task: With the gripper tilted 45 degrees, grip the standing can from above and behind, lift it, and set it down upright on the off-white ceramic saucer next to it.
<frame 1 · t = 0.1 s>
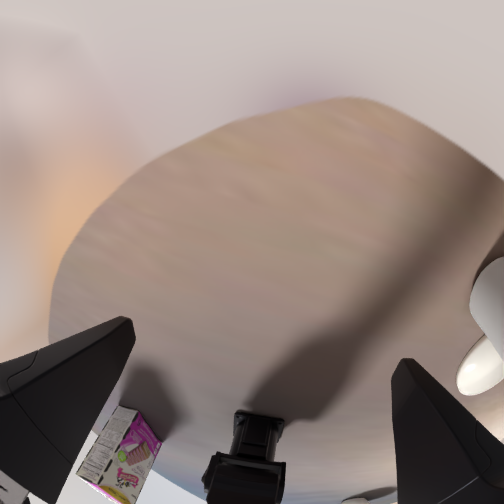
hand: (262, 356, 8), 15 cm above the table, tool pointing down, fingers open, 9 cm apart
candy bar box: (141, 424, 39), on the table
lidded jar: (353, 500, 44), on the table
can: (491, 285, 20), on the table
saucer: (492, 358, 23), on the table
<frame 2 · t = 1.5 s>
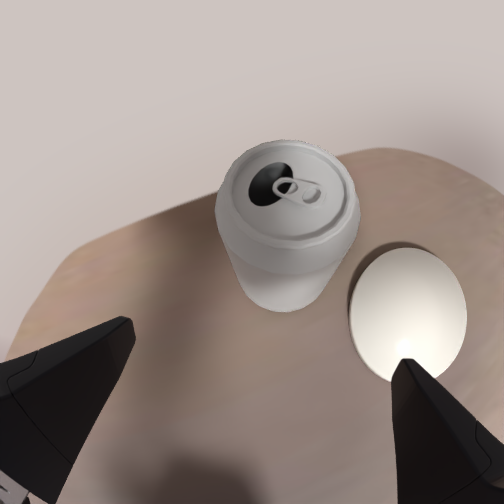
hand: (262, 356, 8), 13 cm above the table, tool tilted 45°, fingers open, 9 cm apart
can: (282, 270, 23), on the table
saucer: (411, 315, 21), on the table
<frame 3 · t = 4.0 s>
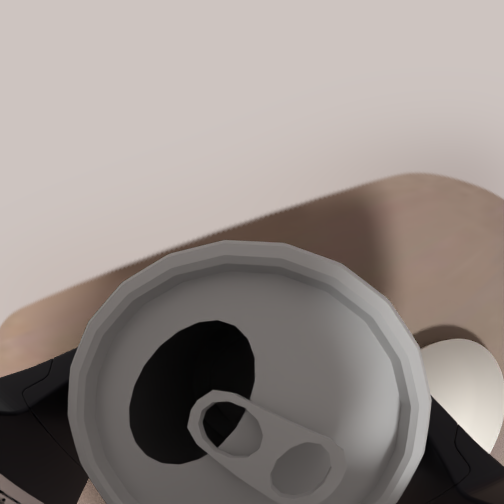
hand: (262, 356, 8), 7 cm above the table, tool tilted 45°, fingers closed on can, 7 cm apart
can: (262, 382, 14), on the table, touching gripper
saucer: (438, 428, 12), on the table
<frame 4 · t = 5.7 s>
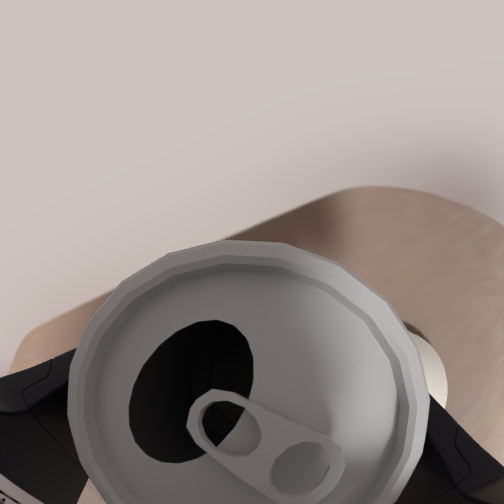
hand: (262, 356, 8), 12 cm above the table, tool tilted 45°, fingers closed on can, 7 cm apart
can: (262, 381, 14), point 5 cm above the table, touching gripper
saucer: (379, 404, 17), on the table
when the fingers open (9 cm above the table, at t = 7.6 s): can drops 1 cm, resting on saucer.
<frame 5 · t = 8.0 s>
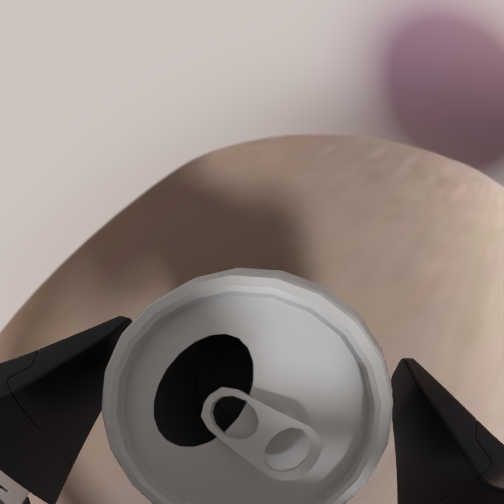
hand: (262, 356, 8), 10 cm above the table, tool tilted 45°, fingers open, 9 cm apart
can: (262, 383, 16), point 1 cm above the table, touching saucer
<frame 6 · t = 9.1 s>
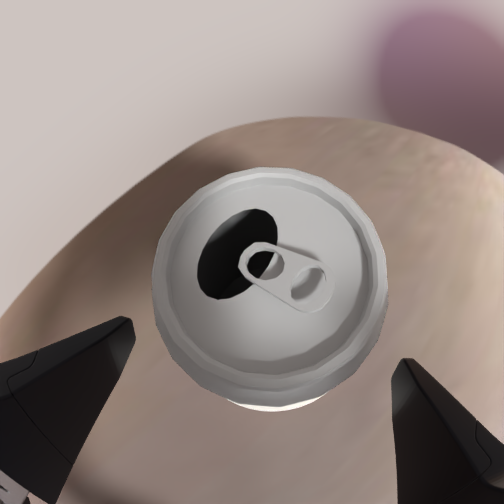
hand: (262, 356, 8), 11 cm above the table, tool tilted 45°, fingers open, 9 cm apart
can: (271, 325, 18), point 1 cm above the table, touching saucer
saucer: (273, 324, 19), on the table
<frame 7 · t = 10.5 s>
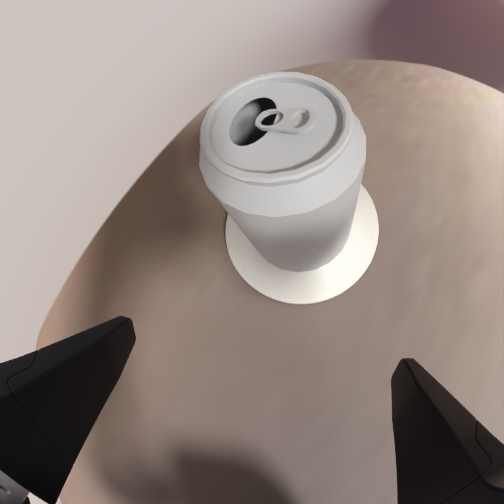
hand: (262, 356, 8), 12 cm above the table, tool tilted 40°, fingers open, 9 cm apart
can: (300, 227, 21), point 1 cm above the table, touching saucer
saucer: (302, 228, 22), on the table
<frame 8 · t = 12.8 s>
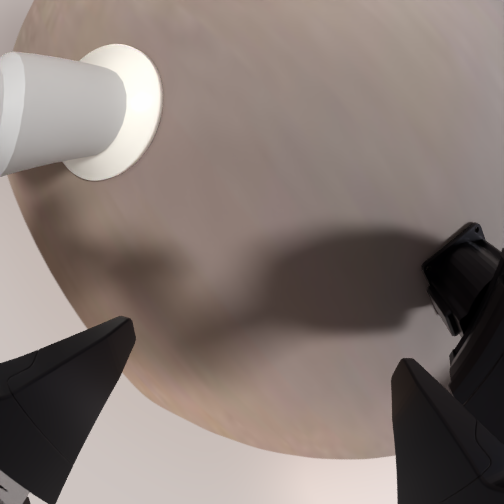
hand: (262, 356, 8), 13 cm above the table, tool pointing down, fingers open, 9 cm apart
can: (98, 111, 18), point 1 cm above the table, touching saucer
saucer: (103, 111, 19), on the table
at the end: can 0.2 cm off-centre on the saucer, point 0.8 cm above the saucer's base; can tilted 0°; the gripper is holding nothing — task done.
